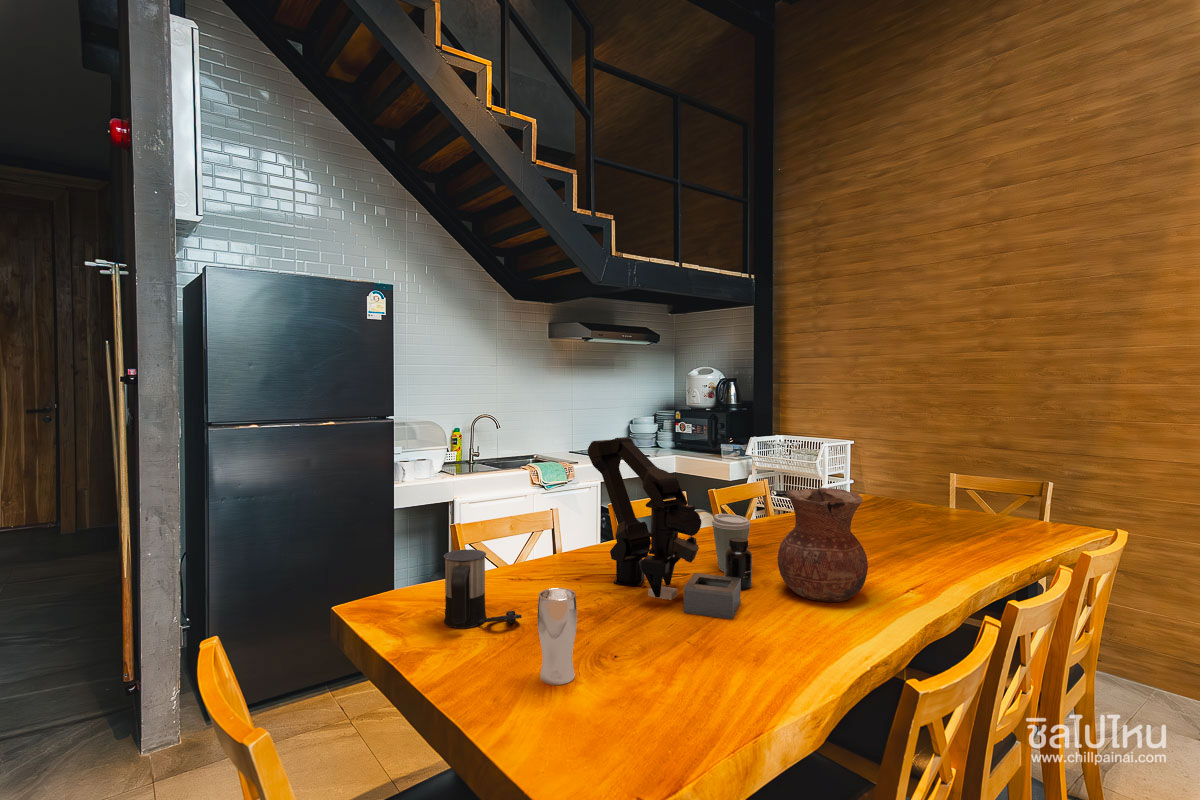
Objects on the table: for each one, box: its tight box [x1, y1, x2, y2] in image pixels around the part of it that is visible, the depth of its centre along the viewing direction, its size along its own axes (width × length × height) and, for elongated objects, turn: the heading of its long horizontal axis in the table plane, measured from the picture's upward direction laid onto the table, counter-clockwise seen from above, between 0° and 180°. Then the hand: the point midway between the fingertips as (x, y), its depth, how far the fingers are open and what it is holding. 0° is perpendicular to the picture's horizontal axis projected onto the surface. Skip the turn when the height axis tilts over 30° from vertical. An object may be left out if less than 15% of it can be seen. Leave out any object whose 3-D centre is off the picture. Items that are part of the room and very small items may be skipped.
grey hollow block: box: [683, 572, 742, 620], centre depth 147 cm, size 11×11×6 cm
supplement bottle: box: [724, 538, 753, 591], centre depth 163 cm, size 7×7×12 cm
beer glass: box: [537, 587, 578, 686], centre depth 113 cm, size 7×7×15 cm
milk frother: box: [443, 548, 523, 629], centre depth 138 cm, size 14×16×15 cm
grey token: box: [647, 585, 678, 601], centre depth 156 cm, size 6×4×2 cm, turn 62°
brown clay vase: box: [776, 487, 869, 603], centre depth 157 cm, size 22×21×25 cm
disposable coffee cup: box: [711, 513, 751, 573], centre depth 176 cm, size 11×11×15 cm
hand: (662, 591), depth 156 cm, fingers open, 9 cm apart
